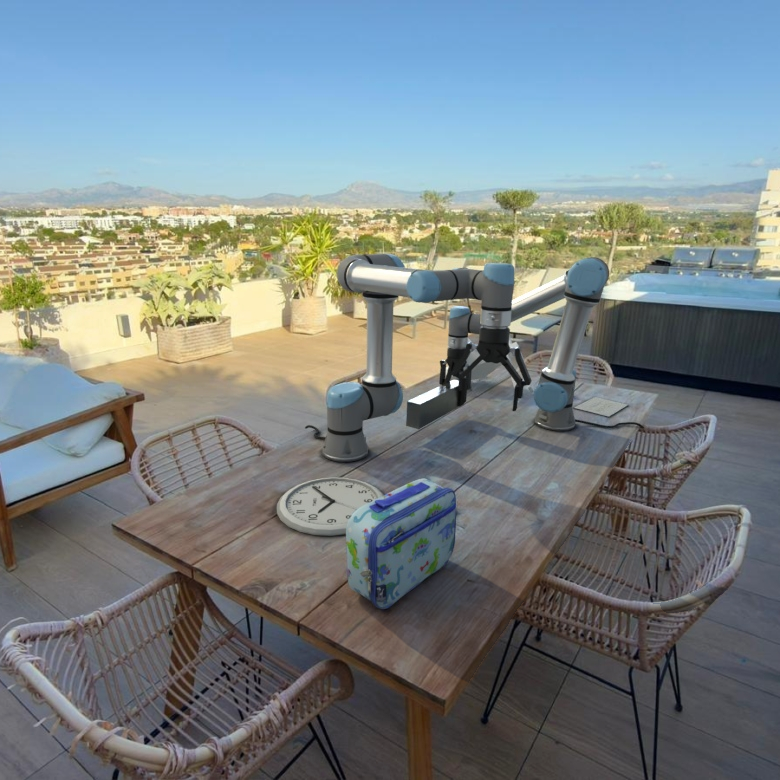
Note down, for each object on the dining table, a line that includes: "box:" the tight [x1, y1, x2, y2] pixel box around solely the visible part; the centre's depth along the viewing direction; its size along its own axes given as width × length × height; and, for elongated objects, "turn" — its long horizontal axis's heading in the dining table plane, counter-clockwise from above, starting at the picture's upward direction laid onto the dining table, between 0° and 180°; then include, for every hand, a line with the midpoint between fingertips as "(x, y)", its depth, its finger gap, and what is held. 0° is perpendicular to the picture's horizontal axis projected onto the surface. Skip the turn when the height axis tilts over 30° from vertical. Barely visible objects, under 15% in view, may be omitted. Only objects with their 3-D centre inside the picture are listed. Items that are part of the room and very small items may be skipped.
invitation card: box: [573, 396, 629, 418], centre depth 226 cm, size 21×1×15 cm
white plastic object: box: [445, 334, 535, 394], centre depth 249 cm, size 37×45×31 cm
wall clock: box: [276, 476, 385, 537], centre depth 142 cm, size 30×2×30 cm
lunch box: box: [345, 477, 457, 610], centre depth 110 cm, size 26×11×21 cm, turn 134°
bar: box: [405, 380, 459, 430], centre depth 196 cm, size 34×5×9 cm, turn 145°
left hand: (488, 406), depth 138 cm, fingers open, 13 cm apart
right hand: (453, 404), depth 208 cm, fingers closed on bar, 5 cm apart
